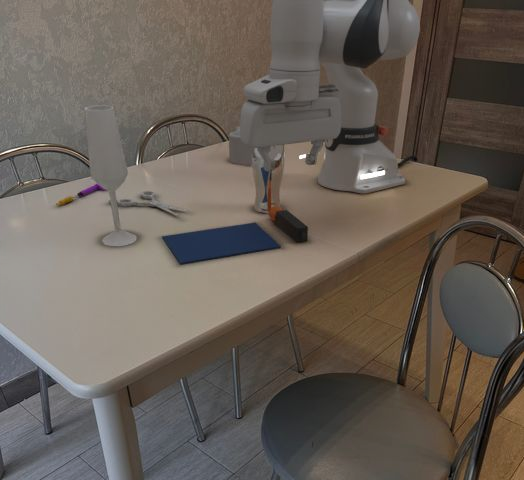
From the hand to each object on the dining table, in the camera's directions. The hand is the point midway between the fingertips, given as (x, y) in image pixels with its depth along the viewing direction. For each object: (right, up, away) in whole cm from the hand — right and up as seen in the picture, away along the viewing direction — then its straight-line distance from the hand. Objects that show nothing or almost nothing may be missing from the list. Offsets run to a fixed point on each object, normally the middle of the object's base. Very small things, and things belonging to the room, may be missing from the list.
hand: (290, 167), depth 101 cm
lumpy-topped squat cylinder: (-8, +20, +52) cm, 56 cm away
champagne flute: (-34, -13, +4) cm, 36 cm away
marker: (0, -11, +7) cm, 13 cm away
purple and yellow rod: (-47, +1, +24) cm, 53 cm away
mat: (-13, -14, +3) cm, 20 cm away
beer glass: (-4, -3, +18) cm, 19 cm away
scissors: (-29, -3, +18) cm, 35 cm away
